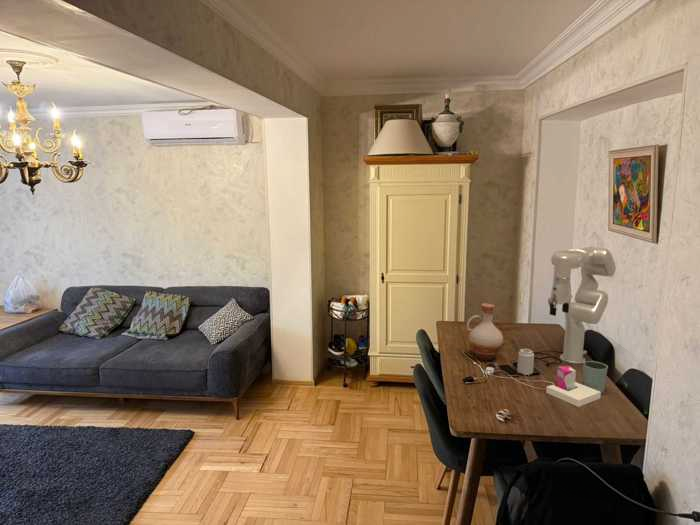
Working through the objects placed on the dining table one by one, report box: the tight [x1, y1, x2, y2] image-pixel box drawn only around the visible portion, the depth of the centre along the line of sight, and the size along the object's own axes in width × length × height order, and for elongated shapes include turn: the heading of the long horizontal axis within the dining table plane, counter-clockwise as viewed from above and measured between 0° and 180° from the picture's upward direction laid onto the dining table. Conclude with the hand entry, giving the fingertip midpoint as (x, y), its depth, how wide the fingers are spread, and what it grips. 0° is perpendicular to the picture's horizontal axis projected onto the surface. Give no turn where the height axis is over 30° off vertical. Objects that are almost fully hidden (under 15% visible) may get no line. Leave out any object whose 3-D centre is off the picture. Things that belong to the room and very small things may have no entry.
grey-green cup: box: [582, 360, 609, 394], centre depth 221 cm, size 10×10×12 cm
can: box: [516, 348, 535, 376], centre depth 239 cm, size 8×8×12 cm
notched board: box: [545, 381, 602, 408], centre depth 215 cm, size 16×16×3 cm
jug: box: [465, 302, 504, 361], centre depth 259 cm, size 20×18×30 cm
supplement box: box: [556, 365, 577, 391], centre depth 218 cm, size 6×6×12 cm
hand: (559, 313), depth 238 cm, fingers open, 9 cm apart
